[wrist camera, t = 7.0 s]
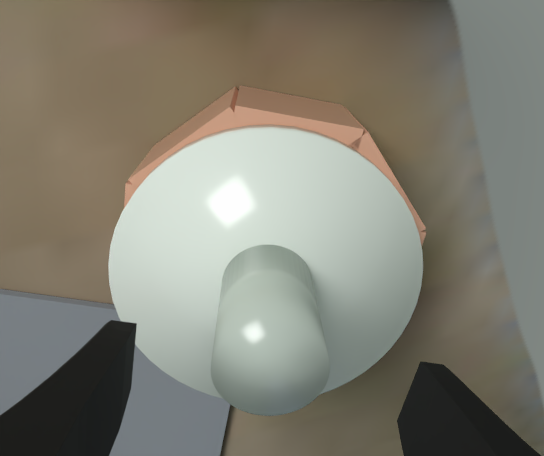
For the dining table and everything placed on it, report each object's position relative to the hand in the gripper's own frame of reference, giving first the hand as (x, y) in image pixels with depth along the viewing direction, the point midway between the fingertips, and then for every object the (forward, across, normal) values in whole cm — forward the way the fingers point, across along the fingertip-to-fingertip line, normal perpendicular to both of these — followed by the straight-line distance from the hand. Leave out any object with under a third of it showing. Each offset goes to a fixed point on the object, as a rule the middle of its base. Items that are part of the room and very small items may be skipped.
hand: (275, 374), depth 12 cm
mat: (+10, +6, +12) cm, 17 cm away
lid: (+6, 0, 0) cm, 6 cm away
